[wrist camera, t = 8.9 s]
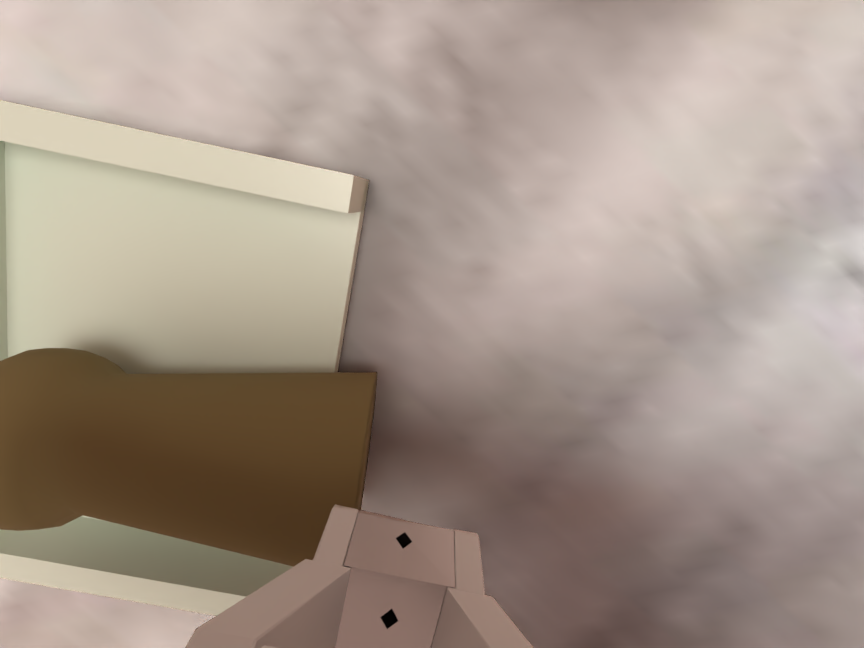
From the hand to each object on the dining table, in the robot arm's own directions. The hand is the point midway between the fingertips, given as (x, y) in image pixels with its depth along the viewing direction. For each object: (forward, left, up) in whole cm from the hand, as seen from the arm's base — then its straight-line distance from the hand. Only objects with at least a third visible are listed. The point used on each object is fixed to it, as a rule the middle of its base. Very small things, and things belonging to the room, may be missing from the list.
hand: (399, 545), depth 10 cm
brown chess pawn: (+1, +1, -5) cm, 5 cm away
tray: (+9, 0, -8) cm, 12 cm away
